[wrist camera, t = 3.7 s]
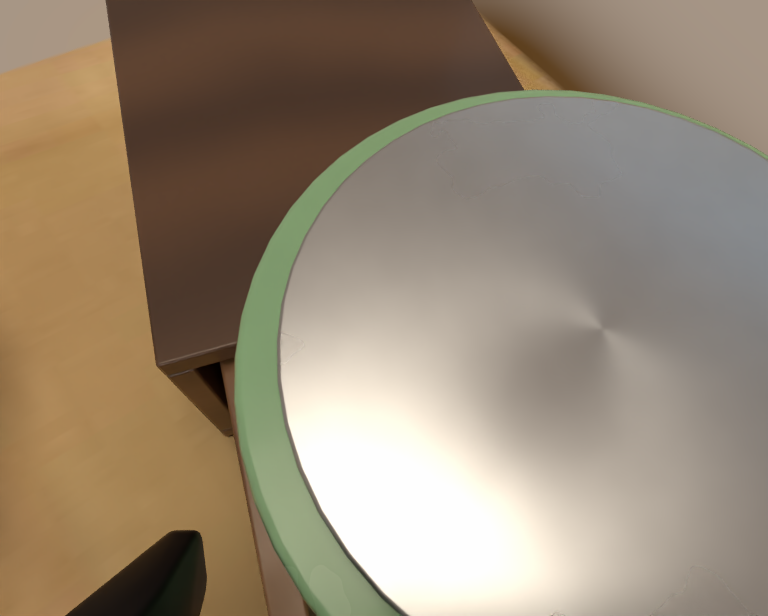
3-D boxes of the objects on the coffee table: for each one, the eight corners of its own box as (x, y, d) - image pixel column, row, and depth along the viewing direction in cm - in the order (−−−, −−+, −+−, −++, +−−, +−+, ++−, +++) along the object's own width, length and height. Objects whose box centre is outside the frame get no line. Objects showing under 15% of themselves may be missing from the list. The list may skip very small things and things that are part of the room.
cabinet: (546, 342, 20) (614, 241, 14) (224, 437, 18) (155, 366, 13) (422, 82, 26) (435, -64, 20) (169, 137, 24) (104, -4, 18)
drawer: (725, 735, 14) (871, 795, 10) (332, 902, 13) (308, 1054, 9) (511, 282, 20) (547, 200, 16) (225, 362, 19) (180, 294, 14)
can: (593, 596, 15) (1236, 608, 4) (370, 678, 14) (337, 1015, 3) (503, 385, 17) (721, 19, 6) (311, 443, 16) (173, 140, 5)
